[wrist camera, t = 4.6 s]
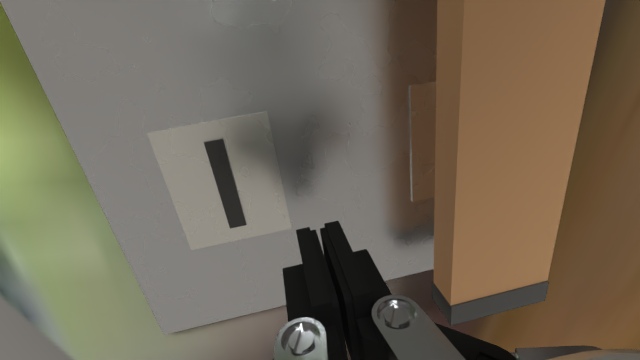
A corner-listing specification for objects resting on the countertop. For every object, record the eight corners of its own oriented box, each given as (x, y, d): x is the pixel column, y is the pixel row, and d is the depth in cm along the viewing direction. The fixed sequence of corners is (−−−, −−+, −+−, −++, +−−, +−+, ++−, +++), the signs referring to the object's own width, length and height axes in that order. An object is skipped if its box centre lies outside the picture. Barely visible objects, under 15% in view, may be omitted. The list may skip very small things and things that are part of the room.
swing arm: (435, -196, 9) (473, -247, 7) (597, -209, 10) (666, -259, 8) (430, 298, 17) (448, 326, 15) (520, 275, 18) (546, 300, 16)
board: (-13, -58, 11) (-103, -90, 8) (613, -127, 13) (704, -170, 11) (167, 323, 18) (152, 372, 16) (545, 232, 21) (588, 260, 18)
